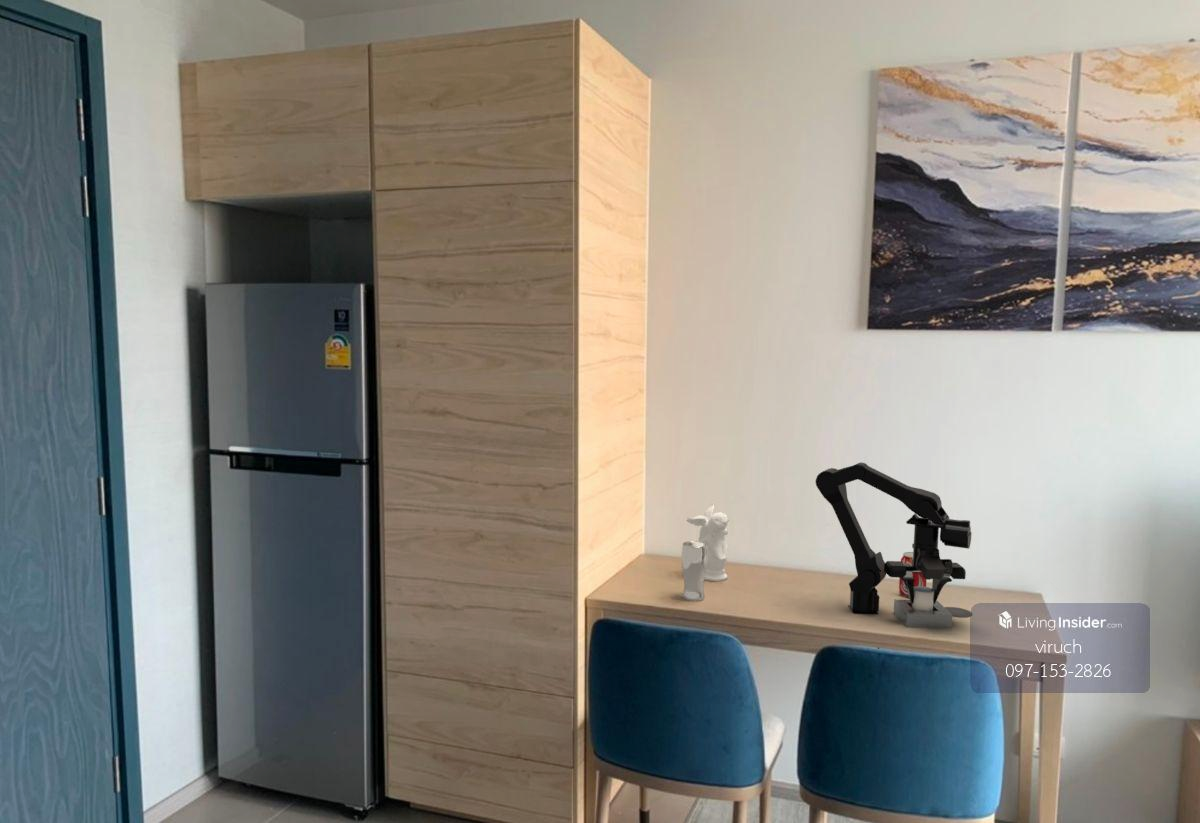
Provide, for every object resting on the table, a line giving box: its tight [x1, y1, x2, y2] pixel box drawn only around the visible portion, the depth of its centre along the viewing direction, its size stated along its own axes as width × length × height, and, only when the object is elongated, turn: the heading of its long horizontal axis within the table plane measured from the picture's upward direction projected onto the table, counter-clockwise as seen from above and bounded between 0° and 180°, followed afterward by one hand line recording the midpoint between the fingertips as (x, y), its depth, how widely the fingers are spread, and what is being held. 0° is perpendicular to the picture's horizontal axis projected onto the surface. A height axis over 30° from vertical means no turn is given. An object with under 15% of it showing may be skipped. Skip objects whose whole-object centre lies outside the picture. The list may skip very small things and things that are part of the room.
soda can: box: [898, 551, 927, 599], centre depth 241 cm, size 7×7×12 cm
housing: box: [893, 599, 953, 630], centre depth 221 cm, size 11×11×4 cm
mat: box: [944, 606, 973, 619], centre depth 227 cm, size 8×8×1 cm
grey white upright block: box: [681, 540, 707, 602], centre depth 238 cm, size 7×7×15 cm
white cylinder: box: [912, 586, 934, 611], centre depth 221 cm, size 5×5×8 cm
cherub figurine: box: [686, 500, 730, 582], centre depth 257 cm, size 12×12×22 cm
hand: (922, 602), depth 221 cm, fingers closed on white cylinder, 5 cm apart
